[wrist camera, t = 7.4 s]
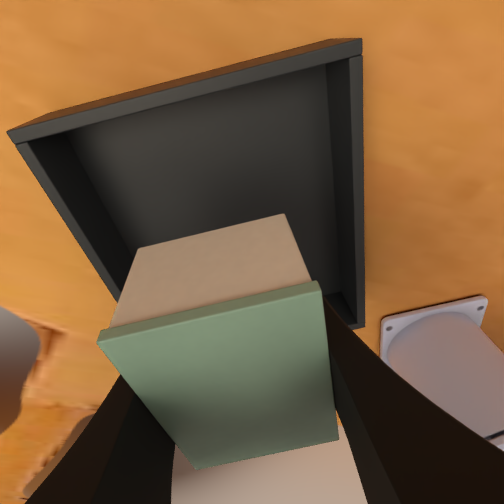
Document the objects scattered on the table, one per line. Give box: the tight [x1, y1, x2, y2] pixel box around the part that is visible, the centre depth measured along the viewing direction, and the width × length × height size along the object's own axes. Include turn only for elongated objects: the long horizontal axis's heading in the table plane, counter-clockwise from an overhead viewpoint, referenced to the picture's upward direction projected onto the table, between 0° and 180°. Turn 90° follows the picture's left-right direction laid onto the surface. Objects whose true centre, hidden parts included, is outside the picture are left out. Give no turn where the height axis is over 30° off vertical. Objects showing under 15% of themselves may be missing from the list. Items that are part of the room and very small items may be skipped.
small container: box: [97, 214, 339, 470], centre depth 11 cm, size 7×5×4 cm
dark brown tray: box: [7, 38, 365, 330], centre depth 17 cm, size 15×13×4 cm
